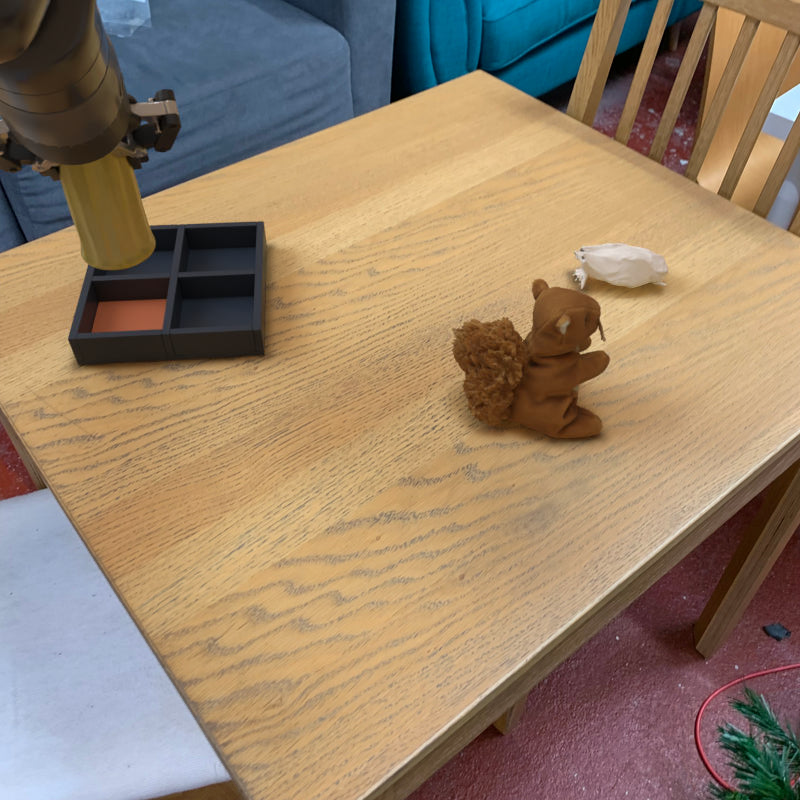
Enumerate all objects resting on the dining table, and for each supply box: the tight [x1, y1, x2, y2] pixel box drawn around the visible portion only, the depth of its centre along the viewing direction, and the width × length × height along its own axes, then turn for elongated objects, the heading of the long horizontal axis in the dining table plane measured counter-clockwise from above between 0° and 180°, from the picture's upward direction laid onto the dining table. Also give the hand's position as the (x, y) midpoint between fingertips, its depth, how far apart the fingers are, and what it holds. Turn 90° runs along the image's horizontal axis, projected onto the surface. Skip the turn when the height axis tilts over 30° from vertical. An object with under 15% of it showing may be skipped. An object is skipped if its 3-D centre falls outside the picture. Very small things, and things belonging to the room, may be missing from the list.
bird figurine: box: [572, 242, 669, 290], centre depth 85 cm, size 5×7×10 cm
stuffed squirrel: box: [451, 278, 611, 439], centre depth 69 cm, size 10×14×13 cm
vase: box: [57, 154, 155, 270], centre depth 60 cm, size 6×6×14 cm
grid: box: [67, 220, 268, 366], centre depth 82 cm, size 18×18×4 cm
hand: (95, 162), depth 61 cm, fingers closed on vase, 5 cm apart
